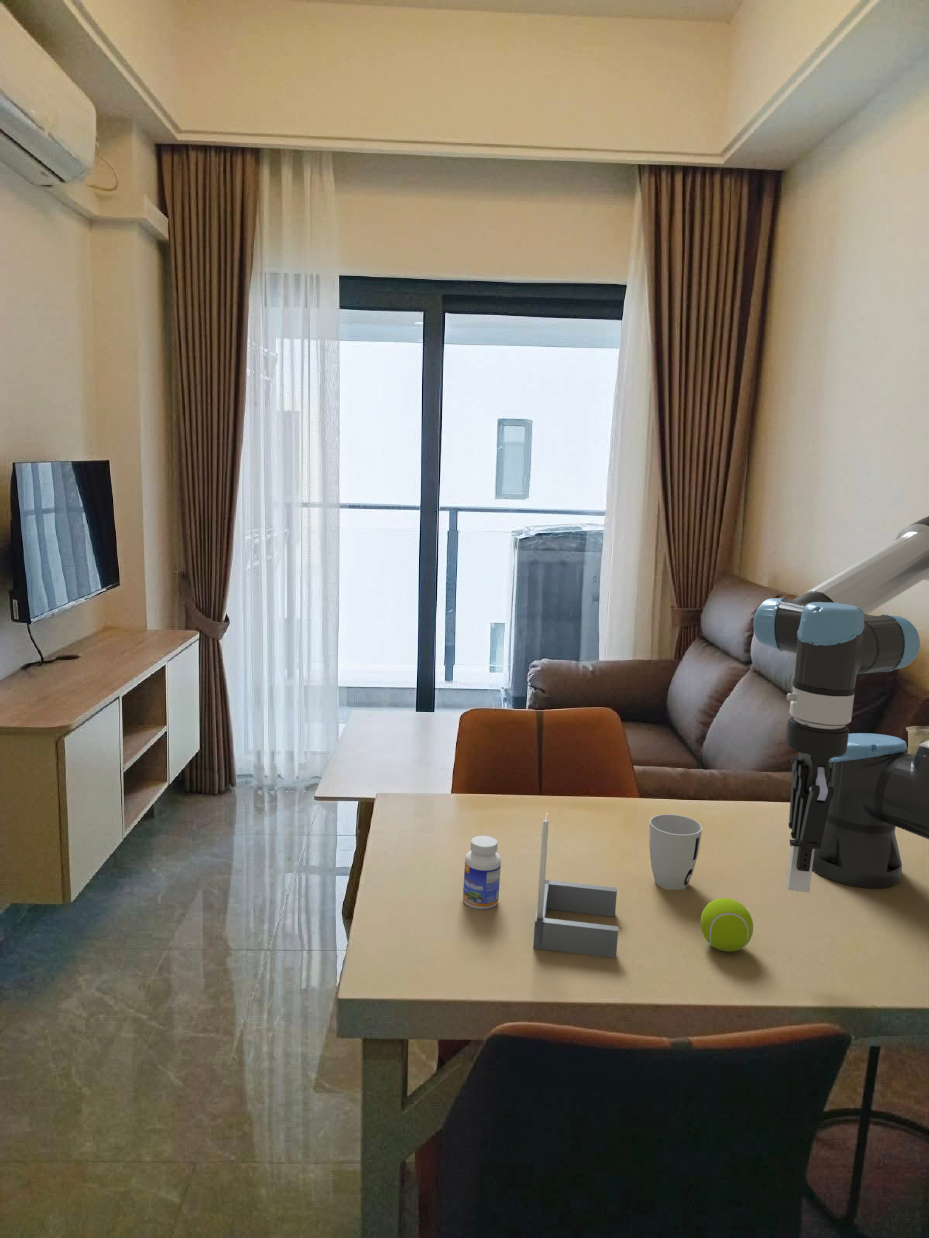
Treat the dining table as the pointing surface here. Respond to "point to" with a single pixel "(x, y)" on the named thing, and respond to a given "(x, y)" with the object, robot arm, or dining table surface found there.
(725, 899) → the tennis ball
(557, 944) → the gray u frame
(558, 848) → the dining table surface
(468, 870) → the pill bottle
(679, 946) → the dining table surface
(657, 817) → the cup
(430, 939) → the dining table surface
